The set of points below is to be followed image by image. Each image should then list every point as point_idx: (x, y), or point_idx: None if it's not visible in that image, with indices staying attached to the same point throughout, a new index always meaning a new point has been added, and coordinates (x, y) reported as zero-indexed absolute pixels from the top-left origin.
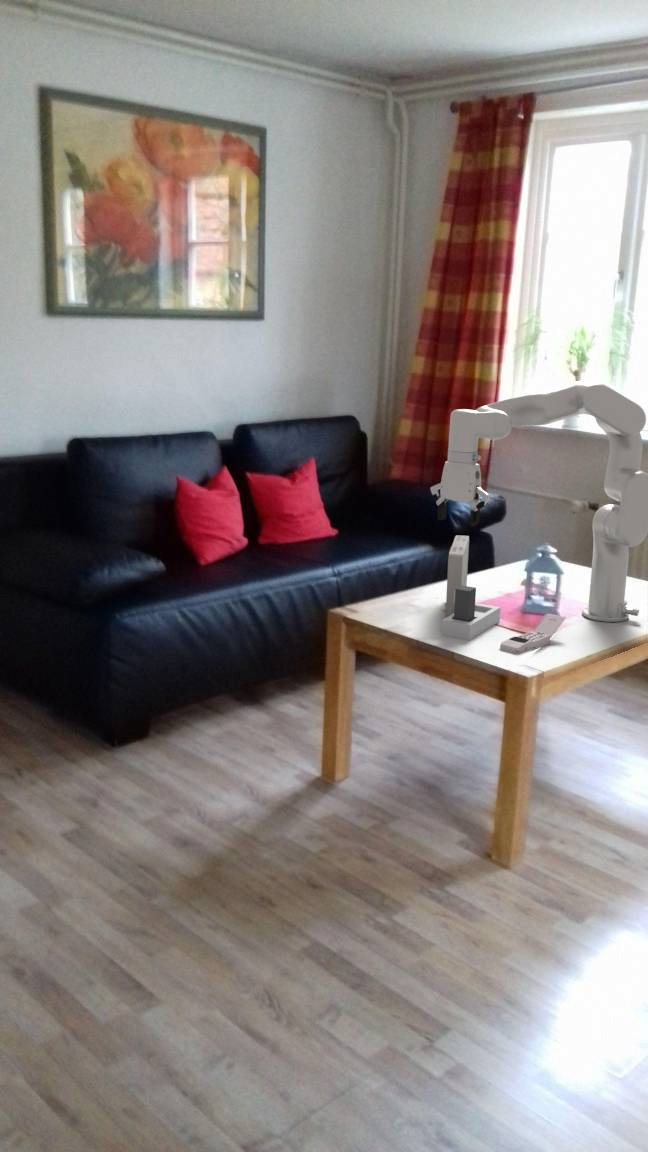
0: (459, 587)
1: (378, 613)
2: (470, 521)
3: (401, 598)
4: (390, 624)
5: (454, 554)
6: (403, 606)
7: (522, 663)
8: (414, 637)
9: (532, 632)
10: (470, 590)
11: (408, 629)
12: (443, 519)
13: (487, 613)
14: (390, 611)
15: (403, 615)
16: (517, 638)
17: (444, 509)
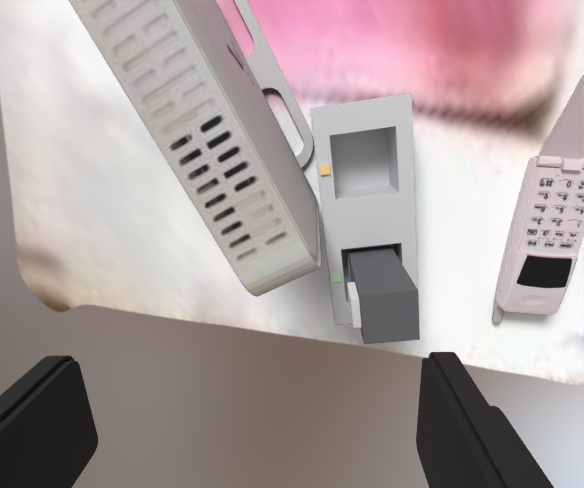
0: (366, 322)
1: (99, 236)
2: (431, 481)
3: (26, 63)
4: (182, 289)
5: (274, 280)
6: (92, 135)
7: (564, 330)
8: (282, 330)
9: (546, 169)
10: (417, 329)
11: (236, 293)
12: (80, 385)
13: (408, 191)
14: (105, 201)
15: (152, 208)
16: (537, 268)
17: (8, 483)
